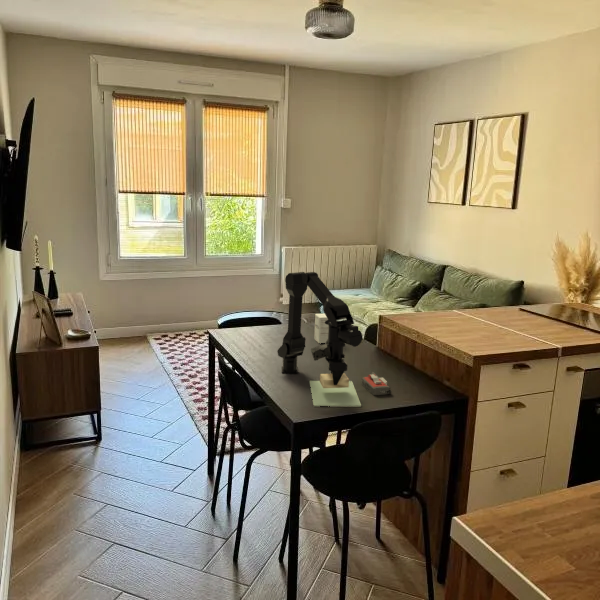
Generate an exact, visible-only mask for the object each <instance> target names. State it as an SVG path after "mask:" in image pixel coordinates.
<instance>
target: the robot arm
mask: <svg viewBox="0 0 600 600" xmlns="http://www.w3.org/2000/svg"><path fill="white" fill-rule="evenodd" d="M284 281H285V290H286V292H287V294H288V295H289V298H288V299H289V301H288V316H287V317H288V319H287V331H286V333H285V334H284V336H283V338H282V345H280V347H279V348H278V349H277V356H278V357H280V358H281V359H282V366H281V374H299V367H298V357H299V356H300V357H301V356H303V354H304V351H305V348H306V339H307V338H306V337H304V335H303V334H302V316H303V314H302V313H303V297H304V295H305V293H306V291H307V290H308V288H309V289H310V290H311V292H312V293H313V294H314V296H315V297H316V298H317V300H318V301H319V302H320V303H321V305H322V309H323V310H322V311H323V314H324V313H325V315H326V317H327V318H328V320H327V321H325V324H327V325H329V326H328V340H327V341H326V343H325V344H319V346H314V347H312V348H311V349H310V352H311V354H312V357H313V361H318V360H320V359H323V358H324V359H325V360H326V362H327V369H328V371H330V374H332V376H333V383H334V385H337V384H338V382H339V380H340V378H341V376H342V375H343V373H345V372H347V371H348V363H347V361H346V360H345V356H346V355H345V353H344V352H345V347H346V345H349V346H351V347H358V346H360V344H361V343H362V341H363V333H362V331H361V330H359V326H358V325H354V324H355V320H354V317H353V316H352V313H351V311H350V308H349V305H348V304H347V302H344V300H342V299H340V298H339V297H337V296H335V295H333V293H332V292H331V291H330V289H329V288H328V287H327V286H326V284H325V283H324V281H322V280H321V278H320V277H319V274H318V273H317V271H316V272H315V271H310V272H309V271H307V272H304V271H296V272H288V273H287V275H285V279H284Z"/></svg>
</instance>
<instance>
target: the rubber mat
mask: <svg viewBox="0 0 600 600" xmlns="http://www.w3.org/2000/svg"><path fill="white" fill-rule="evenodd" d="M308 383H309V387H311V388H310V393H312V394H311V399H313V400H312V404H313V405H314V406H313V407H320V406H328V407H329V406H330V407H331V408H332V407H337V408H338V407H342V408H343V407H345V408H346V407H347V408H349V407H351V408H353V407H354V408H355V407H357V408H358V407H359V408H361V407H362V404H361V401H360V399H359V396H358V394H357V390H356V388H355V386H354V383H353V381H352V380H349V387H345V388H323V387H322V385H321V383H320V380H309V382H308Z"/></svg>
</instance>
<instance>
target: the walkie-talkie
mask: <svg viewBox="0 0 600 600" xmlns="http://www.w3.org/2000/svg"><path fill="white" fill-rule="evenodd" d="M361 385H362V386H363V387H364V388H365V389H366V390H367V391H368V392H369V393H370V394H371V395H372V396H383V395H389V394H392V390H391V389H390V386H389V385H388V381H387V380H386V379H385V377H380V376H378V374H376V373H375V372H374V371H372V372H371V374H367V376H363V377H362V378H361Z"/></svg>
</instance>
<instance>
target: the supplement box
mask: <svg viewBox="0 0 600 600" xmlns="http://www.w3.org/2000/svg"><path fill="white" fill-rule="evenodd" d="M327 320H328V318H327V317H326V315H325V313H324V312H323V313H315V314H314V338H313V339H314V341H316V342H317V343H318V344H319V343H320V344H319V345H322V344H321V343H325V344H326V341H327V340H328V326H329V325H327V324H325V321H327Z"/></svg>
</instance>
